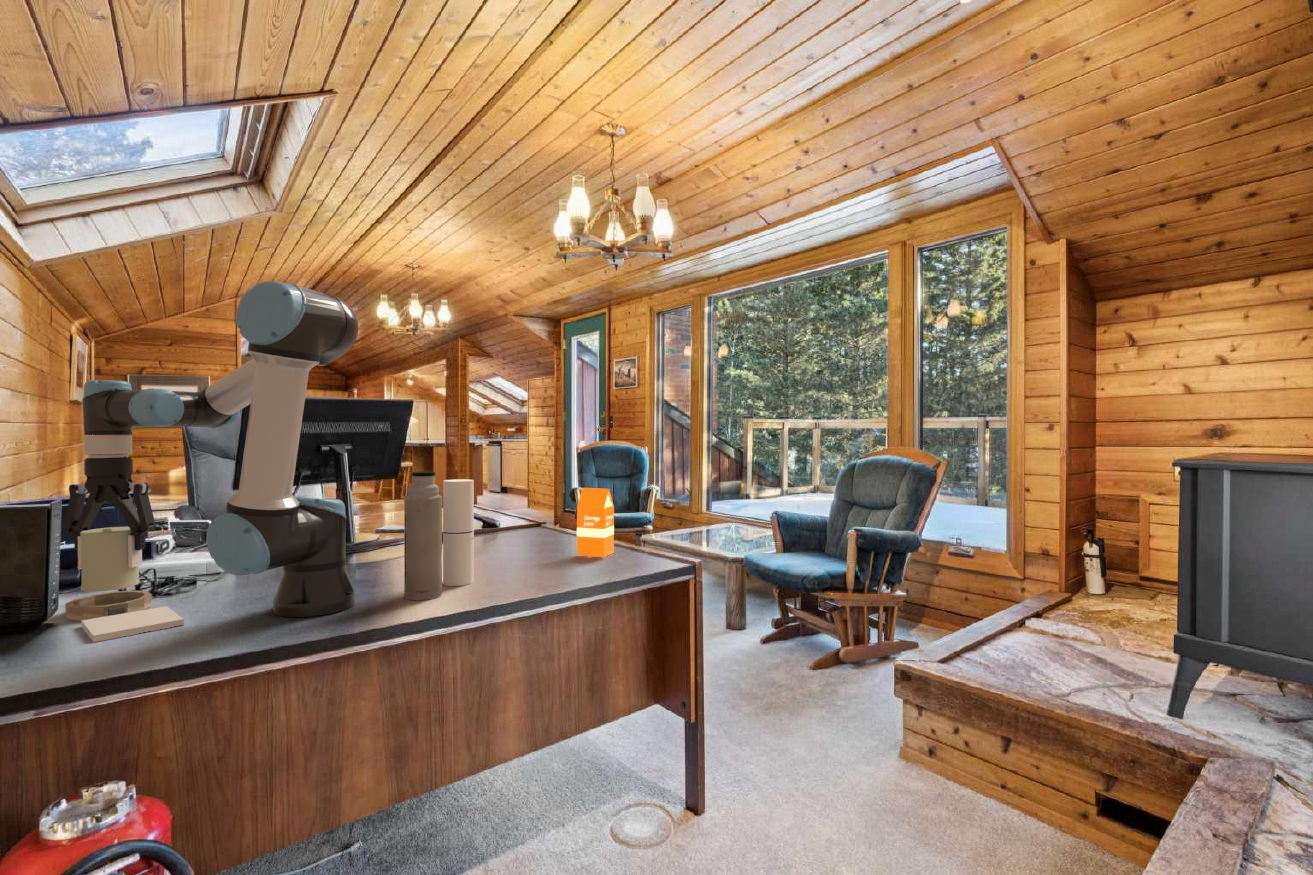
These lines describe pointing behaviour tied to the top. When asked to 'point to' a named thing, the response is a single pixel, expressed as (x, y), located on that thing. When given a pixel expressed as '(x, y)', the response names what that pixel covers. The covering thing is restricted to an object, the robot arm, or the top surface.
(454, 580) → the cylindrical container
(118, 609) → the collar
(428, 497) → the thermos bottle
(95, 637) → the beige base plate
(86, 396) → the robot arm
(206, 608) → the top surface
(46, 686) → the top surface
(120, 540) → the can
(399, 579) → the top surface
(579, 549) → the orange juice
